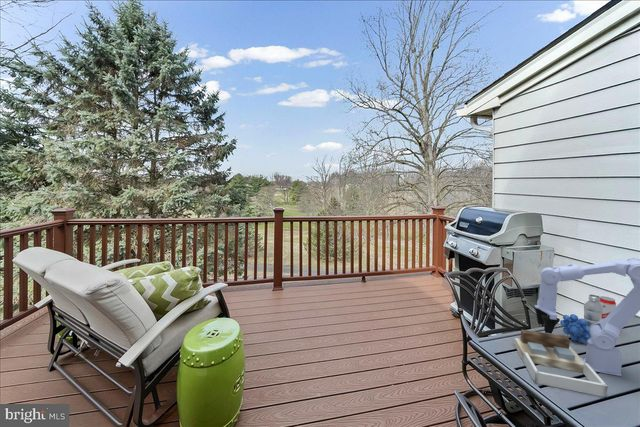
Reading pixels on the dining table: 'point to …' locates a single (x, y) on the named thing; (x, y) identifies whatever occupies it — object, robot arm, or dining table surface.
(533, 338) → the scraper bar
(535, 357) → the birch plate
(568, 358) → the near tile
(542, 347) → the far tile
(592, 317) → the plastic bottle
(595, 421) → the dining table surface
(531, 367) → the box
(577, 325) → the grapes
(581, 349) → the dining table surface
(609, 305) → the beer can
